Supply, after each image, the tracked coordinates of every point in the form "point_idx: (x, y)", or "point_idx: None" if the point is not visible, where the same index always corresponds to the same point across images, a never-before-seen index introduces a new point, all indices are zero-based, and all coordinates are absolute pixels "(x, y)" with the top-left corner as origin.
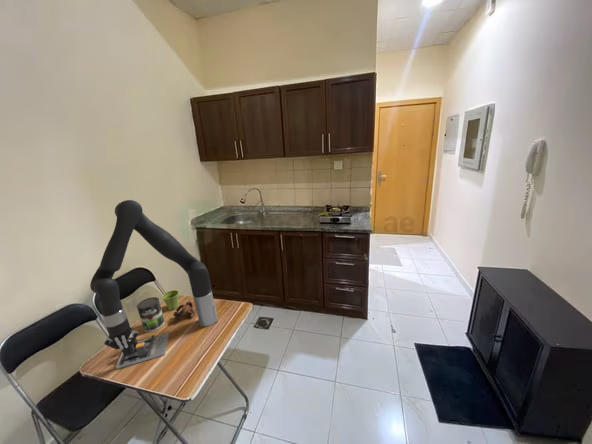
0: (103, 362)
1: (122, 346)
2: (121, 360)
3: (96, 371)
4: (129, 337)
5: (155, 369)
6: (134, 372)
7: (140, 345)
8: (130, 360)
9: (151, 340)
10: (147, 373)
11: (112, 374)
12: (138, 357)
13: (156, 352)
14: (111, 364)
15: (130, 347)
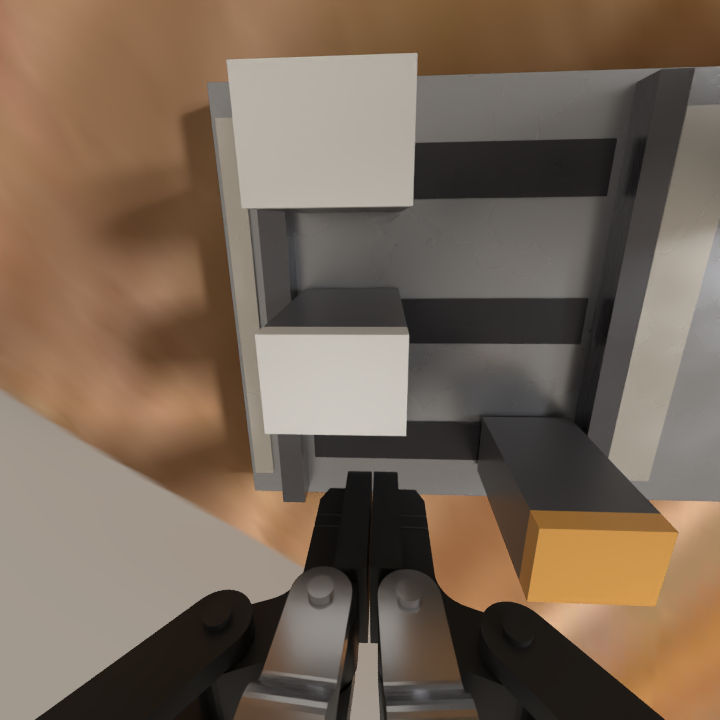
0: (60, 298)
1: (341, 714)
2: (297, 473)
3: (66, 409)
4: (321, 206)
5: (620, 608)
6: (445, 567)
7: (609, 595)
8: (390, 471)
9: (643, 227)
10: (556, 619)
11: (251, 510)
12: (471, 462)
13: (672, 473)
14: (175, 373)
15: (429, 539)
